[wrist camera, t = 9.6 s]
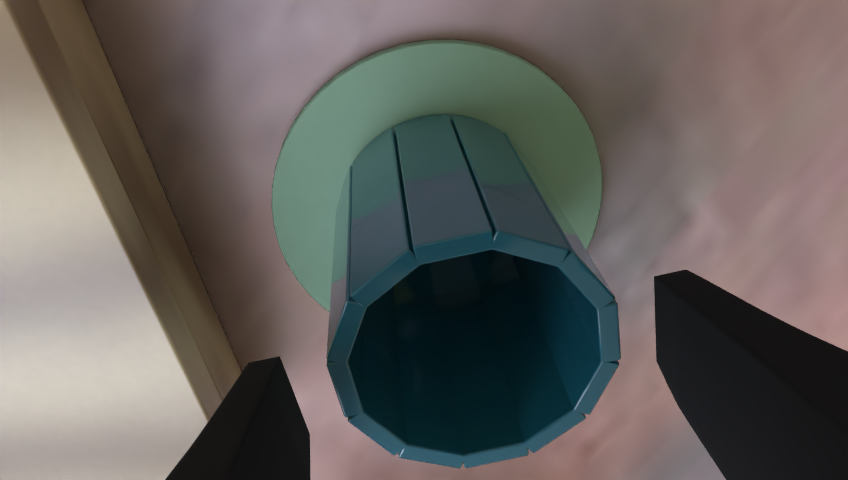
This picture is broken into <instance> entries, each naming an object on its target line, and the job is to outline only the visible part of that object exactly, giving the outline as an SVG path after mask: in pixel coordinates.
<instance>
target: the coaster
mask: <svg viewBox="0 0 848 480" xmlns="http://www.w3.org/2000/svg"><path fill="white" fill-rule="evenodd" d="M432 114H455V115H463V116H467V117H471V118H475V119H478V120H481V121H483V122H486V123H488V124H490V125H492V126H494V127H495V128H498V129H500V130H501V131H502V132H503V133H504V132H505V133H506V134H507V135H508V136H509V137H510V138H511V139H512V140H513V141H514V142H515V143H516V144H517V145H518V147H519V148H520V149H521V151H522V152H523V153H524V155H525V156H526V157H527V158H528V159H529V160H530V162H531V163H532V164H533V165H534V166H535V168H536V169H537V171H538V173H539V174H540V176H541V177H542V179H543V181H544V182H545V184H546V186H547V187H548V189H549V190H550V192H551V194H552V195H553V197H554V199H555V200H556V202H557V203H558V205H559V207H560V208H561V210H562V212H563V213H564V215H565V216H566V218H567V220H568V221H569V223H570V225H571V226H572V228H573V229H574V231H575V233H576V234H577V236H578V238H579V239H580V241H581V242H582V244H583V246H584V247H585V249H586V250H587V248H588V245H589V243H590V241H591V238H592V236H593V234H594V231H595V227H596V224H597V220H598V217H599V212H600V205H601V198H602V172H601V165H600V158H599V154H598V150H597V147H596V144H595V140H594V137H593V135H592V133H591V131H590V128H589V126H588V124H587V122H586V120H585V118H584V116H583V115H582V113H581V112H580V110H579V109H578V107H577V106H576V104H575V103H574V101H573V100H572V99H571V98H570V97H569V96H568V95H567V94H566V93H565V91H564V90H563V89H562V88H561V87H560V86H559V85H558V84H557V83H556V82H555V81H554V80H553V79H551V78H550V77H549V76H548V75H546V74H545V73H544V72H543V71H542V70H540V69H539V68H537V67H536V66H534V65H532V64H531V63H529V62H527V61H526V60H524V59H522V58H521V57H519V56H516V55H514V54H512V53H509V52H507V51H504V50H502V49H500V48H496V47H492V46H488V45H485V44H481V43H477V42H469V41H461V40H426V41H419V42H412V43H406V44H402V45H399V46H395V47H392V48H388V49H385V50H382V51H379V52H377V53H375V54H373V55H370V56H368V57H366V58H364V59H361V60H359V61H358V62H356V63H354V64H353V65H351V66H350V67H348V68H346V69H345V70H343V71H341V72H340V73H339V74H337V75H336V76H335V77H334V78H332V79H331V80H330V81H329V82H328V83H326V84H325V85H324V86H323V87H322V88H321V89H320V90H319V91H318V92H317V93H316V94H315V95H314V96H313V97H312V98H311V99H310V100H309V102H308V103H307V104H306V105H305V107H304V108H303V109H302V111H301V112H300V114H299V115H298V117H297V118H296V119H295V121H294V122H293V124H292V126H291V128H290V130H289V132H288V134H287V136H286V138H285V140H284V143H283V146H282V149H281V152H280V155H279V158H278V161H277V164H276V168H275V174H274V179H273V185H272V213H273V222H274V228H275V232H276V235H277V239H278V243H279V246H280V248H281V251H282V253H283V255H284V258H285V260H286V262H287V264H288V266H289V267H290V269H291V271H292V272H293V274H294V275H295V277H296V279H297V280H298V281H299V282H300V284H301V285H302V286H303V287H304V289H305V290H306V291H307V292H308V293H309V295H310V296H312V297H313V298H314V299H315V300H316V301H317V302H318V303H319V304H320V305H321V306H322V307H323V308H325V309H326V310H328V311H329V312H330V297H331V281H332V266H333V251H334V236H335V221H336V209H337V206H338V202H339V199H340V195H341V190H342V186H343V183H344V180H345V177H346V175H347V172H348V170H349V167H350V166H351V165H352V163H353V161H354V160H355V159H356V157H357V156H358V155H359V153H360V152H361V151H362V150H363V149H364V148H365V147H366V146H367V145H368V144H369V143H370V142H371V141H372V140H373V139H374V138H376V137H377V136H378V135H380V134H381V133H382V132H384V131H386V130H387V129H389V128H391V127H392V126H394V125H397V124H399V123H401V122H404V121H406V120H409V119H413V118H416V117H420V116H425V115H432Z"/></svg>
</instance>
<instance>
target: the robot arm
mask: <svg viewBox="0 0 848 480" xmlns="http://www.w3.org/2000/svg"><path fill="white" fill-rule="evenodd" d="M654 290H655V324H656V358H657V363H658V365H659V367H660V369H661V371H662V374H663V376H664V378H665V380H666V382H667V384H668V386H669V388H670V390H671V392H672V394H673V396H674V398H675V400H676V402H677V404H678V406H679V408H680V410H681V411H682V413H683V414H684V416H685V418H686V419H687V421H688V422H689V424H690V425H691V427H692V428H693V430H694V431H695V433H696V434H697V436H698V438H699V439H700V441H701V442H702V444H703V445H704V447H705V448H706V450H707V451H708V453H709V454H710V456H711V457H712V459H713V460H714V462H715V463H716V465H717V466H718V468H719V470H720V471H721V473H722V474H723V476H724V477H725V479H726V480H848V351H845V350H843V349H841V348H839V347H836V346H834V345H832V344H830V343H828V342H825V341H823V340H821V339H819V338H817V337H814V336H812V335H810V334H808V333H806V332H804V331H802V330H800V329H798V328H795V327H793V326H791V325H789V324H787V323H785V322H783V321H781V320H779V319H777V318H775V317H774V316H772V315H770V314H768V313H766V312H764V311H762V310H760V309H758V308H756V307H755V306H753V305H751V304H749V303H747V302H745V301H743V300H742V299H740V298H738V297H736V296H734V295H733V294H731V293H729V292H727V291H725V290H723V289H722V288H720V287H718V286H716V285H714V284H713V283H711V282H709V281H707V280H705V279H703V278H702V277H700V276H698V275H696V274H694V273H692V272H690V271H688V270H682V271H677V272H673V273H668V274H663V275H659V276H654ZM165 480H310V434H309V431H308V429H307V426H306V423H305V421H304V418H303V416H302V413H301V410H300V408H299V405H298V403H297V400H296V397H295V395H294V392H293V390H292V387H291V384H290V382H289V379H288V377H287V374H286V371H285V369H284V366H283V364H282V361H281V358H280V356H279V357H275V358H270V359H265V360H260V361H256V362H251V363H248V365H247V366H246V367H245V369H244V370H243V372H242V373H241V374H240V376H239V377H238V379H237V380H236V382H235V383H234V385H233V386H232V388H231V389H230V391H229V392H228V394H227V395H226V397H225V398H224V399H223V401H222V402H221V404H220V405H219V407H218V408H217V410H216V411H215V413H214V414H213V416H212V417H211V419H210V420H209V421H208V423H207V424H206V426H205V427H204V428H203V430H202V431H201V433H200V434H199V436H198V437H197V438H196V440H195V441H194V443H193V444H192V445H191V447H190V448H189V449H188V451H187V452H186V453H185V454H184V456H183V457H182V458H181V460H180V461H179V462H178V464H177V465H176V466H175V467H174V469H173V470H172V471H171V473H170V474H169V475H168V476H167V478H166V479H165Z"/></svg>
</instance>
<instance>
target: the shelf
mask: <svg viewBox="0 0 848 480" xmlns="http://www.w3.org/2000/svg"><path fill="white" fill-rule="evenodd" d="M241 373H242V372H241V370H240V367H239V365H238V363H237V360H236V358H235V356H234V354H233V351H232V349H231V347H230V344H229V342H228V340H227V337H226V335H225V333H224V330H223V328H222V326H221V323H220V321H219V319H218V316H217V314H216V312H215V309H214V307H213V305H212V302H211V300H210V298H209V295H208V293H207V291H206V288H205V286H204V284H203V281H202V279H201V277H200V274H199V272H198V270H197V267H196V265H195V263H194V260H193V258H192V256H191V253H190V251H189V249H188V246H187V244H186V242H185V240H184V237H183V235H182V233H181V230H180V228H179V226H178V223H177V221H176V219H175V216H174V214H173V212H172V209H171V207H170V205H169V202H168V200H167V198H166V195H165V193H164V191H163V188H162V186H161V184H160V181H159V179H158V177H157V174H156V172H155V170H154V167H153V165H152V163H151V160H150V158H149V156H148V153H147V151H146V149H145V146H144V144H143V142H142V139H141V137H140V135H139V132H138V130H137V128H136V125H135V123H134V121H133V119H132V116H131V114H130V112H129V109H128V107H127V105H126V102H125V100H124V98H123V95H122V93H121V91H120V88H119V86H118V84H117V81H116V79H115V77H114V74H113V72H112V70H111V67H110V65H109V63H108V60H107V58H106V56H105V53H104V51H103V49H102V46H101V44H100V42H99V39H98V37H97V35H96V32H95V30H94V28H93V25H92V23H91V21H90V18H89V16H88V14H87V11H86V9H85V7H84V5H83V2H82V0H0V480H165V479H166V478H167V476H168V475H169V474H170V473H171V471H172V470H173V469H174V467H175V466H176V465H177V464H178V462H179V461H180V460H181V458H182V457H183V456H184V454H185V453H186V452H187V451H188V449H189V448H190V447H191V445H192V444H193V443H194V441H195V440H196V438H197V437H198V436H199V434H200V433H201V431H202V430H203V428H204V427H205V426H206V424H207V423H208V421H209V420H210V419H211V417H212V416H213V414H214V413H215V411H216V410H217V408H218V407H219V405H220V404H221V402H222V401H223V399H224V398H225V397H226V395H227V394H228V392H229V391H230V389H231V388H232V386H233V385H234V383H235V382H236V380H237V379H238V377H239V376H240V374H241Z"/></svg>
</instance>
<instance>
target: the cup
mask: <svg viewBox="0 0 848 480" xmlns="http://www.w3.org/2000/svg"><path fill="white" fill-rule="evenodd" d="M620 359H621V352H620V335H619V319H618V303H617V302H616V300H615V296H614V294H613V293H612V291H611V290H610V288H609V286H608V285H607V283H606V281H605V280H604V278H603V277H602V275H601V273H600V272H599V270H598V268H597V267H596V265H595V264H594V262H593V260H592V259H591V257H590V255H589V254H588V252H587V251H586V249H585V247H584V246H583V244H582V242H581V241H580V239H579V238H578V236H577V234H576V233H575V231H574V229H573V228H572V226H571V225H570V223H569V221H568V220H567V218H566V216H565V215H564V213H563V212H562V210H561V208H560V207H559V205H558V203H557V202H556V200H555V199H554V197H553V195H552V194H551V192H550V190H549V189H548V187H547V186H546V184H545V182H544V181H543V179H542V177H541V176H540V174H539V173H538V171H537V169H536V168H535V166H534V165H533V164H532V163H531V162H530V160H529V159H528V158H527V157H526V156H525V155H524V153H523V152H522V151H521V149H520V148H519V147H518V145H517V144H516V143H515V142H514V141H513V140H512V139H511V138H510V137H509V136H508V135H507V134H506V133H505V132H504V133H503V132H502V131H501V130H500V129H498V128H495V127H494V126H492V125H490V124H488V123H486V122H483V121H481V120H478V119H475V118H471V117H467V116H463V115H455V114H432V115H425V116H420V117H416V118H413V119H409V120H406V121H404V122H401V123H399V124H397V125H394V126H392V127H391V128H389V129H387V130H386V131H384V132H382V133H381V134H380V135H378V136H377V137H376V138H374V139H373V140H372V141H371V142H370V143H369V144H368V145H367V146H366V147H365V148H364V149H363V150H362V151H361V152H360V153H359V155H358V156H357V157H356V159H355V160H354V161H353V163H352V165H351V166H350V167H349V170H348V172H347V175H346V177H345V180H344V183H343V186H342V190H341V195H340V199H339V202H338V206H337V209H336V221H335V236H334V251H333V266H332V281H331V297H330V312H329V327H328V342H327V368H328V371H329V374H330V377H331V379H332V382H333V385H334V388H335V391H336V394H337V397H338V400H339V403H340V405H341V408H342V411H343V414H344V416H345V417H348V421H349V422H350V423H351V424H352V425H354V426H355V427H356V428H358V429H359V430H360V431H362V432H363V433H364V434H366V435H367V436H368V437H370V438H371V439H372V440H374V441H375V442H376V443H378V444H379V445H381V446H382V447H383V448H385V449H386V450H387V451H389V452H390V453H391V454H393V455H396V454H398V455H399V457H400V458H404V459H410V460H415V461H421V462H426V463H432V464H438V465H443V466H449V467H454V468H461V466H462V464H463V463H464V467H465V468H470V467H475V466H480V465H484V464H489V463H494V462H499V461H504V460H508V459H513V458H518V457H523V456H527V455H528V454H529V450H530V451H531V452H533V453H534V452H536V451H538V450H539V449H541V448H542V447H544V446H545V445H547V444H548V443H550V442H551V441H553V440H554V439H556V438H557V437H559V436H560V435H562V434H563V433H565V432H566V431H568V430H569V429H571V428H572V427H574V426H575V425H577V424H578V423H580V422H581V421H583V420H584V419H585V418H586V416H585V414H590V413H591V412H592V410H593V408H594V407H595V405H596V403H597V402H598V400H599V398H600V396H601V395H602V393H603V391H604V390H605V388H606V386H607V385H608V383H609V381H610V379H611V378H612V376H613V374H614V373H615V371H616V369H617V368H618V366H619V362H618V360H620ZM528 449H529V450H528Z"/></svg>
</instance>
